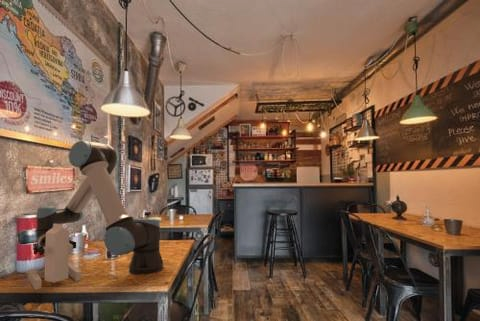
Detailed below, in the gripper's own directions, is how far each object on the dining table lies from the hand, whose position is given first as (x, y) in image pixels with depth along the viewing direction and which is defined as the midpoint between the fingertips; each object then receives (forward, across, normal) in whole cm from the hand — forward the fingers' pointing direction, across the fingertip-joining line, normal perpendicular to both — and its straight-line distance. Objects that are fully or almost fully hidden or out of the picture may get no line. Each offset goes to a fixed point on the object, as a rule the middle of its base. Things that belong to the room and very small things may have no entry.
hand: (59, 250), depth 116 cm
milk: (-5, 0, -12) cm, 13 cm away
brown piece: (-12, -1, -14) cm, 19 cm away
